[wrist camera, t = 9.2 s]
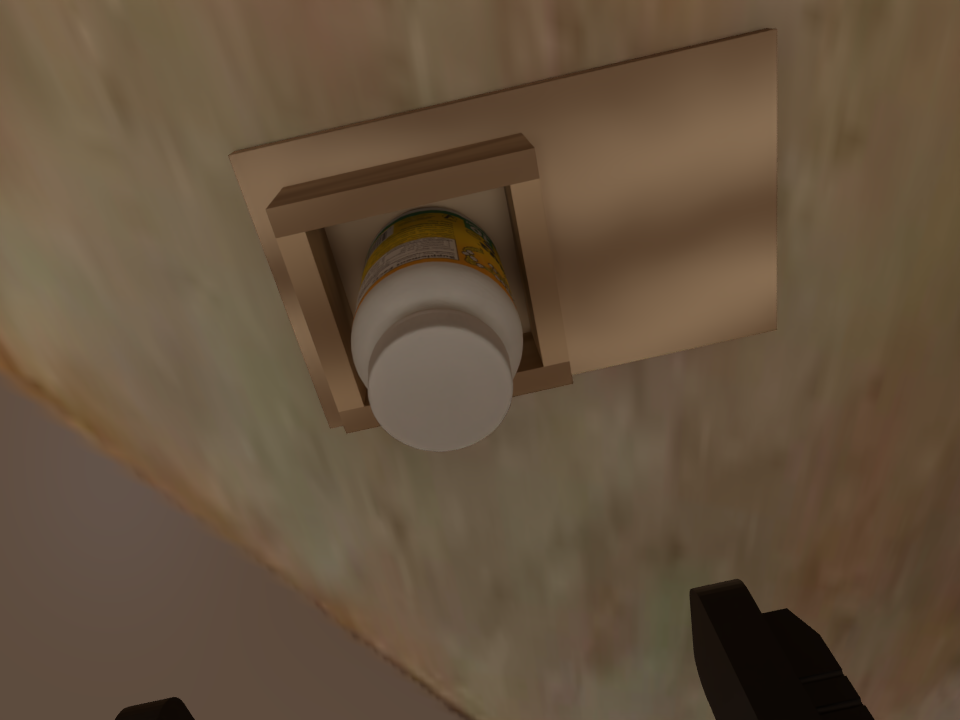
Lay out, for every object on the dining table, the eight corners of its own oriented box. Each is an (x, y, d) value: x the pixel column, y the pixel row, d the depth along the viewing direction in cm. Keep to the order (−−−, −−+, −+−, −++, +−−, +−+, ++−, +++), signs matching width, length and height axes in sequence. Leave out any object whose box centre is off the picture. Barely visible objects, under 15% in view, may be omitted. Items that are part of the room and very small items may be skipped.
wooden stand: (233, 151, 25) (203, 174, 21) (766, 28, 24) (826, 30, 21) (332, 418, 30) (320, 471, 27) (768, 322, 30) (815, 363, 26)
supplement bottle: (349, 219, 26) (315, 321, 17) (488, 191, 25) (523, 280, 17) (384, 344, 28) (369, 488, 20) (510, 319, 28) (550, 452, 19)
